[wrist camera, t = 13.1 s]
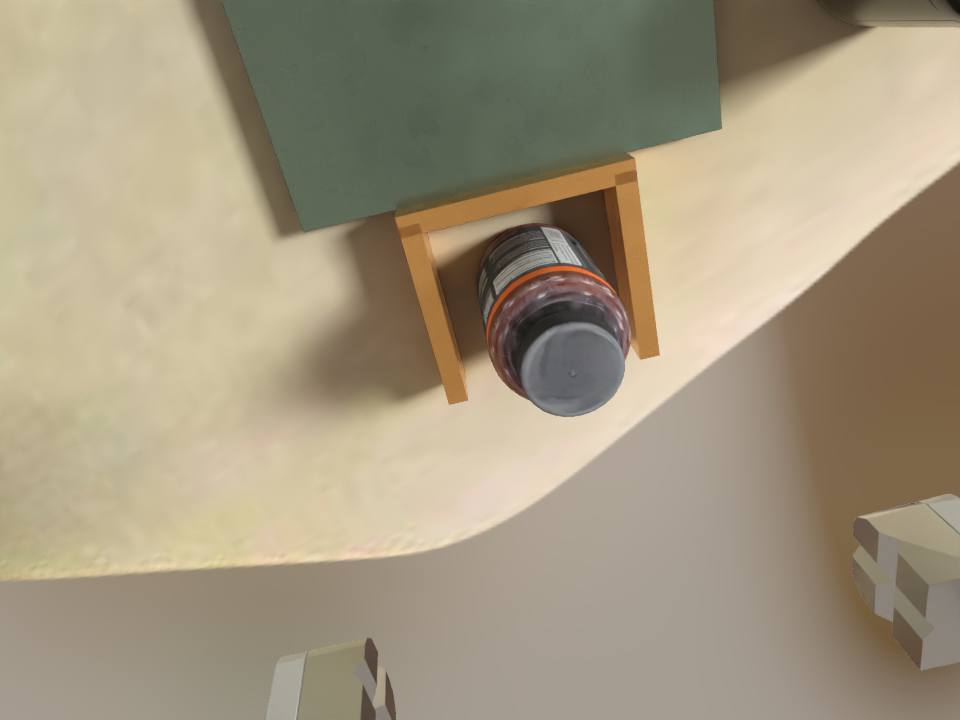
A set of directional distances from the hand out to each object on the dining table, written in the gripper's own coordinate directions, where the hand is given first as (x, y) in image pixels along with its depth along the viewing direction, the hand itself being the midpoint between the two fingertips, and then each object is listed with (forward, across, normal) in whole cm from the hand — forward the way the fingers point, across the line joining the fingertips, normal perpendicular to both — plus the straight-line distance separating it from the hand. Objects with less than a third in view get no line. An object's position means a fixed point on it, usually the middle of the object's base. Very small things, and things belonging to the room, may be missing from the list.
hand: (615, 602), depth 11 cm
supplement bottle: (+26, -2, +4) cm, 26 cm away
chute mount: (+26, -2, -2) cm, 26 cm away
